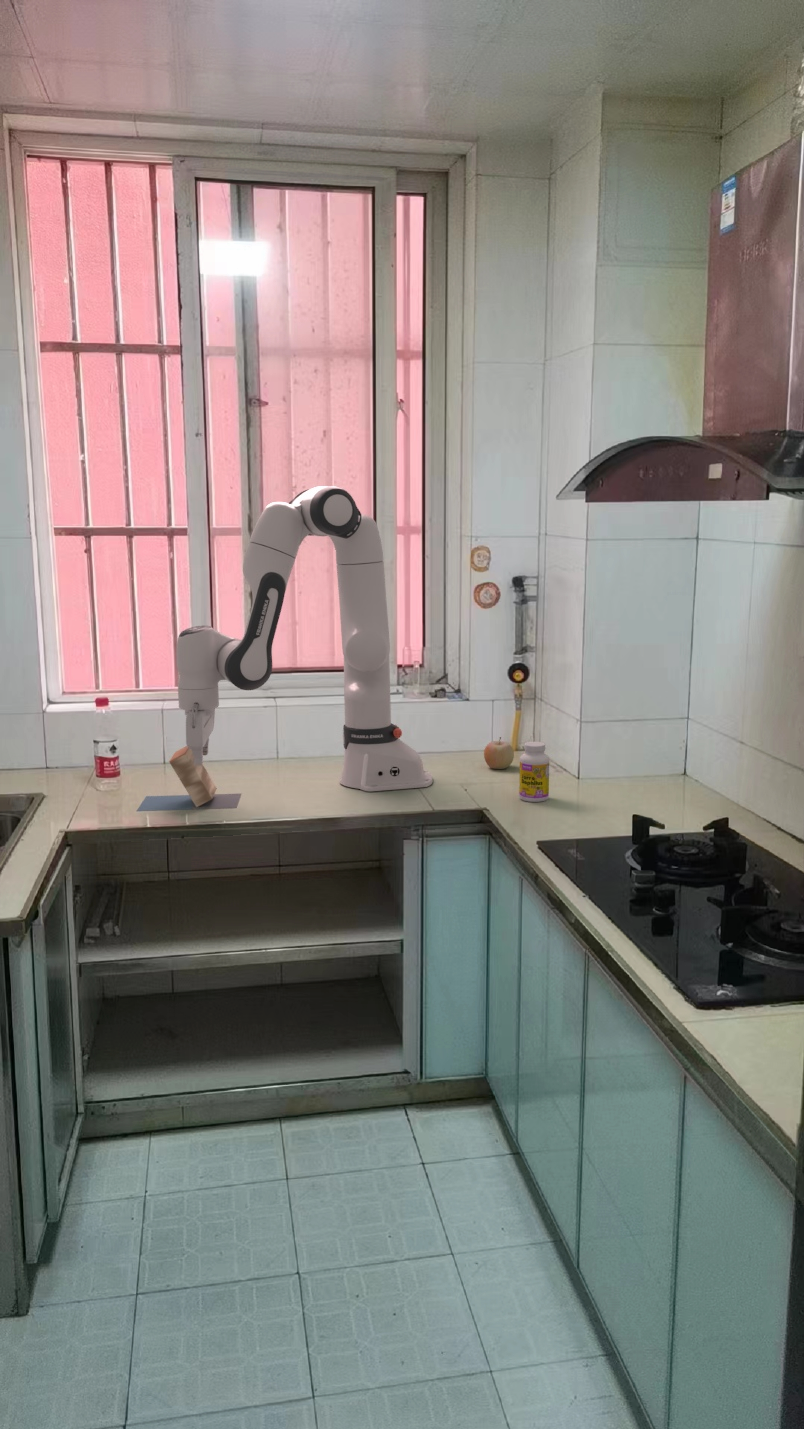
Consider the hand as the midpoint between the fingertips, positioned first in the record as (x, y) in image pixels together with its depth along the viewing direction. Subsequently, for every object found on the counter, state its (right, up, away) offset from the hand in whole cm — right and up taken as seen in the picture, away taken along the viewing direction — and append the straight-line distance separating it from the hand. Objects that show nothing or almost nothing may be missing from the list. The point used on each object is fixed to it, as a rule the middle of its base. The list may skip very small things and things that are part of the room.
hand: (201, 759), depth 240 cm
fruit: (+70, -4, +30) cm, 76 cm away
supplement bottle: (+75, -9, +2) cm, 76 cm away
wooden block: (+1, -9, +2) cm, 9 cm away
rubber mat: (-2, -10, +2) cm, 11 cm away
